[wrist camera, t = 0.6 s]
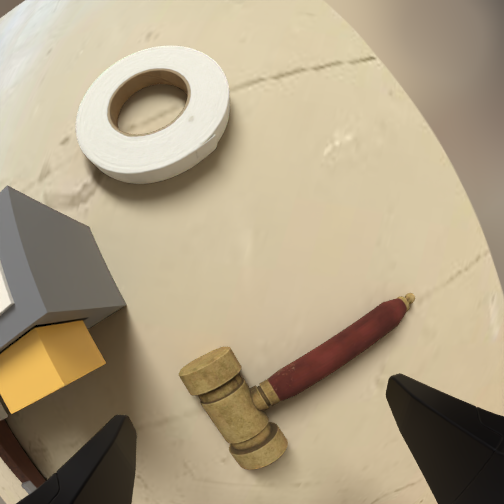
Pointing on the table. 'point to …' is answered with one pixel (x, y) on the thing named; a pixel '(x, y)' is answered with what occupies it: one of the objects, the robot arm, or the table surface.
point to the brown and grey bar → (18, 460)
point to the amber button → (46, 362)
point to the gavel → (277, 384)
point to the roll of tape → (167, 138)
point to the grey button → (2, 412)
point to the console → (49, 269)
